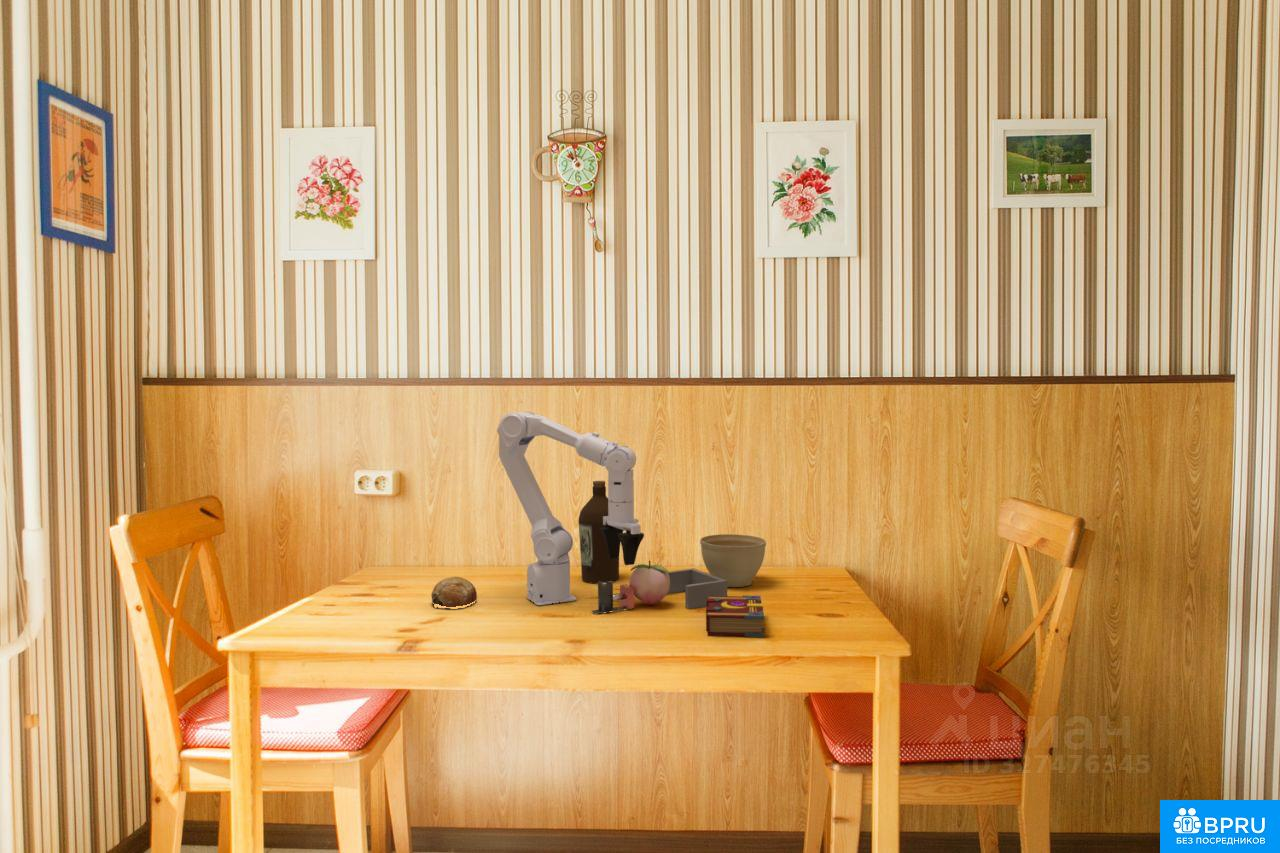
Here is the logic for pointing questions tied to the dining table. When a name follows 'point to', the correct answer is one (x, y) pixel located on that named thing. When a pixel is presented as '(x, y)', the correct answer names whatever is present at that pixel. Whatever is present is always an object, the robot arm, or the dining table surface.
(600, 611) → the rail strip
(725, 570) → the planter bowl
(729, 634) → the decorative book
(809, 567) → the dining table surface
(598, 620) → the dining table surface
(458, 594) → the bread roll
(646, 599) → the decorative fruit
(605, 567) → the olive oil
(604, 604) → the kicker rod
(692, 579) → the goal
